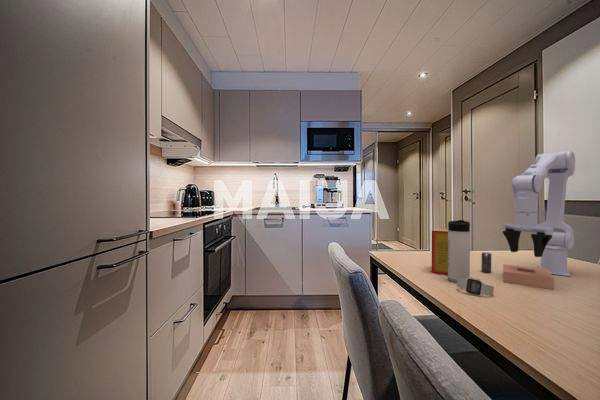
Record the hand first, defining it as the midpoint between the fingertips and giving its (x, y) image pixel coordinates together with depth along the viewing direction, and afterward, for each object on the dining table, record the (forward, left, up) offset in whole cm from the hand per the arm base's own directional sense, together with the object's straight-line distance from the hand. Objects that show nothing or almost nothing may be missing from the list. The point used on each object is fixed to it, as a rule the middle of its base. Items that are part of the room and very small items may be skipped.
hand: (525, 254), depth 89 cm
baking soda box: (+1, -24, -10) cm, 26 cm away
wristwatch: (+21, -13, -10) cm, 26 cm away
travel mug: (+11, -18, -10) cm, 23 cm away
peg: (-7, -11, -9) cm, 16 cm away
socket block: (-2, 0, -9) cm, 10 cm away
